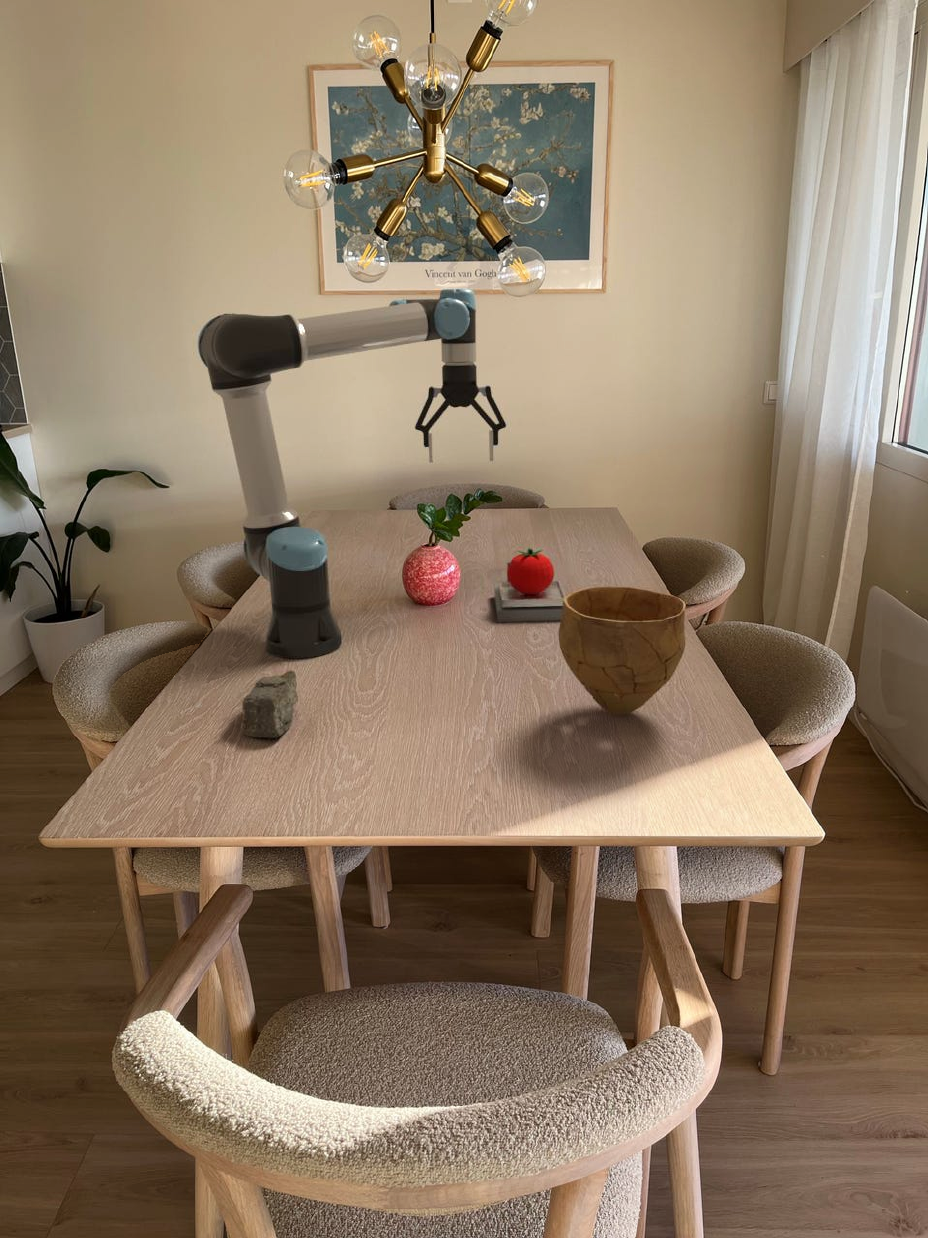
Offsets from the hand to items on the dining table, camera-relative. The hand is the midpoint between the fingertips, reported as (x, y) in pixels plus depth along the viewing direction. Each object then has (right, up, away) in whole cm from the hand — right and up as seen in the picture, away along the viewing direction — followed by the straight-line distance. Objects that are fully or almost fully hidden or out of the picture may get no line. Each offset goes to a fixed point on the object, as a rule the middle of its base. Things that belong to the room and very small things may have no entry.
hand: (461, 461), depth 211 cm
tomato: (+15, -30, -3) cm, 34 cm away
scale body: (+16, -33, 0) cm, 37 cm away
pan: (+16, -31, -2) cm, 35 cm away
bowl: (+26, -52, -55) cm, 80 cm away
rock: (-32, -53, -55) cm, 83 cm away
